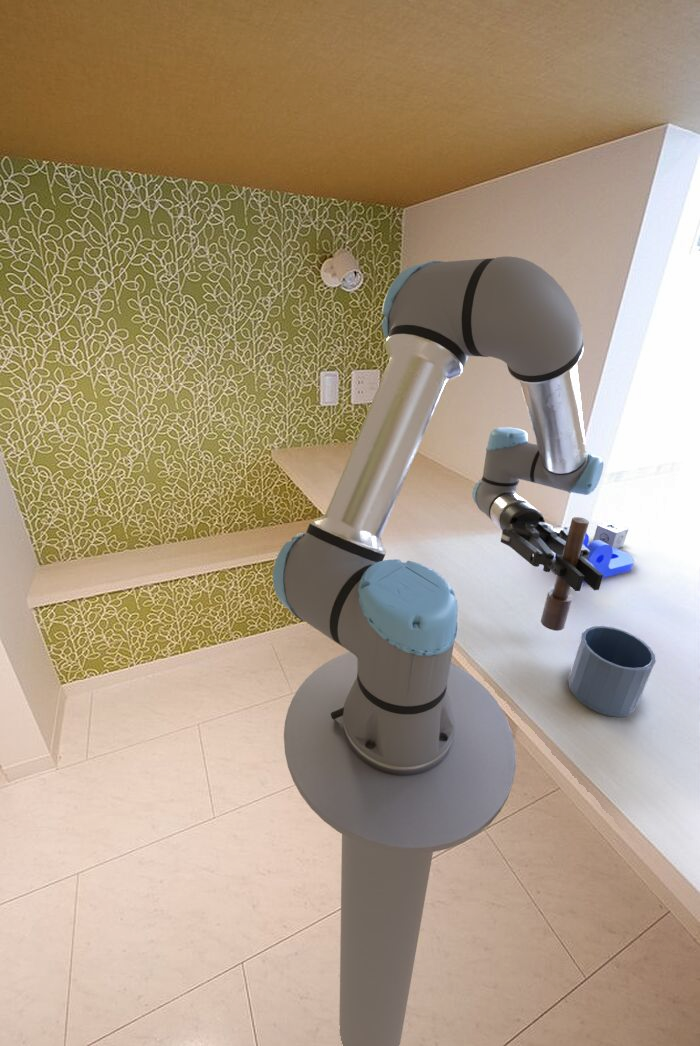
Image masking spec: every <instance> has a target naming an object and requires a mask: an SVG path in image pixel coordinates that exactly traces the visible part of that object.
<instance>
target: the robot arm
mask: <svg viewBox="0 0 700 1046" xmlns="http://www.w3.org/2000/svg"><path fill="white" fill-rule="evenodd" d="M565 291H566V290H564V289H563V287H562V286H561V285H560V283H558V281H557V280H556V279H555V277H553V276H552V275H551V274H549V273H548V272H547V271H546V270H545V269H544V268H542V267H540V266H539V265H537V264H536V263H534V262H532V261H530V260H527V259H525V258H521V257H518V256H498V257H495V258H494V257H491V258H488V257H487V258H477V259H475V258H474V259H463V260H452V261H451V260H449V261H443V260H430V261H427V262H424V263H419V264H415V265H412V266H409V267H407V268H405V269H403V270H402V271H401V272H400V273H399V274H398V275H397V276H396V277H395V278H394V279H393V281H392V283H391V284H390V286H389V288H388V289H387V292H386V295H385V297H384V300H383V304H382V309H381V314H382V315H383V316H384V318H383V319H382V320H381V328H382V332H383V335H384V338H385V341H384V349H385V352H386V354H387V356H388V358H389V361H388V363H387V365H386V368H385V370H384V372H383V374H382V377H381V380H380V382H379V384H378V387H377V389H376V390H375V391H376V392H375V394H374V396H373V398H372V401H371V404H370V406H369V408H368V411H367V413H366V415H365V418H364V420H363V423H362V425H361V427H360V430H359V433H358V435H357V437H356V440H355V442H354V445H353V446H352V449H351V451H350V453H349V456H348V459H347V461H346V464H345V466H344V469H343V471H342V473H341V475H340V478H339V480H338V483H337V485H336V488H335V490H334V492H333V495H332V497H331V500H330V502H329V505H328V507H327V509H326V512H325V513H324V514H323V515H321V516H319V517H317V518H314V519H312V520H311V521H310V522H309V524H308V526H307V529H306V532H305V531H304V532H300V533H297V534H294V535H293V536H292V537H291V540H290V541H286V542H285V543H284V545H282V547H281V548H280V551H279V552H278V554H277V556H276V559H275V562H274V565H273V570H272V585H273V589H274V592H275V594H276V597H277V599H278V601H279V602H280V604H281V605H282V606H284V607H285V609H287V610H288V611H290V613H291V614H292V615H293V616H295V617H296V618H297V619H299V620H300V621H301V622H302V621H303V622H305V623H307V624H308V625H309V626H311V627H313V628H314V629H315V630H317V631H319V632H320V633H321V634H323V635H324V636H326V637H327V638H328V639H330V640H332V641H333V642H335V643H336V644H338V645H339V646H341V647H342V648H343V649H346V650H347V652H351V653H353V654H354V655H355V656H356V657H357V659H358V665H357V677H356V680H355V682H354V684H353V686H352V688H351V690H350V692H349V694H348V696H347V698H346V701H345V704H344V707H343V708H341V709H339V710H336V711H334V712H332V713H331V717H332V719H333V720H334V719H336V718H338V717H341V716H343V731H344V735H345V738H346V741H347V743H348V745H349V746H350V748H351V749H352V751H353V752H354V753H355V754H356V756H357V757H358V758H360V759H361V760H362V761H363V762H364V763H366V764H367V765H369V766H370V767H372V768H374V769H376V770H379V771H381V772H384V773H387V774H392V775H399V776H409V775H417V774H420V773H424V772H426V771H429V770H431V769H433V768H434V767H436V766H437V765H438V764H440V763H441V762H442V761H443V760H444V759H445V757H446V756H447V755H448V753H449V751H450V749H451V746H452V743H453V738H454V731H455V721H454V714H453V711H452V707H451V702H450V699H449V696H448V692H447V682H448V676H449V670H450V664H451V662H452V658H453V651H454V646H455V641H456V637H457V633H458V600H457V598H456V595H455V591H454V589H453V588H452V586H451V585H450V584H449V582H448V580H446V579H445V578H444V577H443V576H442V575H441V574H440V573H439V572H437V571H435V570H434V569H433V568H430V567H428V566H426V565H424V564H422V563H418V562H415V561H411V560H406V562H403V561H402V560H401V559H395V558H393V559H385V557H386V555H387V550H386V548H385V546H384V544H383V542H382V535H383V534H384V532H385V531H384V530H385V529H386V526H387V524H388V521H389V519H390V516H391V515H392V513H393V510H394V507H395V505H396V502H397V500H398V497H399V495H400V493H401V490H402V488H403V486H404V483H405V481H406V478H407V476H408V474H409V471H410V469H411V466H412V465H413V461H414V459H415V458H416V454H417V452H418V449H419V448H420V445H421V443H422V440H423V437H424V436H425V433H426V431H427V428H428V426H429V424H430V421H431V419H432V416H433V414H434V412H435V409H436V407H437V405H438V402H439V400H440V397H441V394H442V392H443V390H444V387H445V385H446V383H448V382H450V381H453V380H455V379H458V378H459V377H460V376H461V374H462V373H463V370H464V368H465V366H466V363H467V361H468V359H469V358H470V357H481V358H495V359H497V360H499V361H500V360H501V361H502V362H504V363H505V364H506V366H507V370H508V372H509V374H510V376H511V377H512V378H513V379H515V380H516V381H518V382H519V384H520V387H521V388H520V389H521V391H522V395H523V399H524V402H525V406H526V409H527V413H528V416H529V420H530V424H531V428H532V430H533V435H534V438H535V442H536V443H533V442H528V441H529V435H528V432H527V431H526V430H524V429H521V428H517V427H504V426H503V427H497V428H494V429H492V430H491V432H490V433H489V436H488V437H489V438H488V442H487V446H486V449H485V451H486V452H485V456H484V457H485V458H484V466H483V470H482V471H483V472H482V477H481V479H479V480H478V481H477V482H476V484H475V485H474V486H473V487H472V488H473V489H472V492H471V496H472V499H473V502H474V503H475V505H476V506H477V508H478V509H479V510H480V511H481V512H482V513H484V514H485V516H487V517H488V518H489V519H490V520H491V521H492V522H493V523H494V524H495V525H496V526H497V527H498V528H499V529H500V530H501V537H500V543H502V544H503V545H505V546H508V547H510V548H511V549H512V550H513V551H515V552H516V553H517V554H518V555H519V556H520V557H522V559H524V560H525V561H526V562H528V563H529V564H530V565H531V566H532V567H536V568H539V567H540V565H542V566H543V567H542V571H543V572H544V573H550V572H552V573H553V574H554V575H555V576H556V577H557V576H560V577H561V578H562V579H563V580H564V581H565V582H566V583H567V584H568V585H569V586H571V589H572V590H574V591H575V592H581V589H582V586H583V584H584V583H583V581H584V582H586V583H585V584H587V585H588V586H589V587H590V588H591V589H592V590H593V591H599V590H600V588H601V585H602V581H603V579H604V578H603V574H602V573H600V572H599V571H598V570H597V569H596V568H594V566H593V565H592V564H591V563H590V562H589V561H587V560H588V556H589V553H590V550H588V549H587V548H586V547H585V546H584V545H583V546H582V549H581V553H580V556H579V560H578V563H577V567H576V568H575V567H574V566H573V565H571V564H570V563H569V562H568V561H567V560H566V559H565V558H563V557H562V555H563V551H564V548H565V544H566V540H567V536H568V532H569V529H570V527H568V526H562V528H560V529H558V528H557V529H556V528H554V526H553V525H552V524H549V523H547V522H546V521H545V518H544V516H543V514H542V513H541V511H540V510H538V509H537V508H535V506H533V505H531V503H530V502H528V501H527V500H526V499H524V498H523V497H522V496H520V495H519V494H518V493H517V490H518V486H519V483H520V480H521V481H526V482H530V483H533V484H538V485H541V486H545V487H549V488H553V489H557V490H560V491H564V492H567V493H569V494H571V493H574V494H578V495H583V496H588V495H591V494H592V493H593V492H594V491H595V490H596V488H597V486H598V485H599V482H600V480H601V478H602V476H603V475H602V474H603V471H604V460H603V458H601V457H600V456H598V455H593V454H592V453H587V447H586V437H585V429H584V420H583V411H582V410H583V409H582V399H581V391H580V381H579V372H578V363H579V362H580V360H581V358H582V356H583V353H584V339H583V337H584V336H583V329H582V325H581V321H580V318H579V315H578V313H577V309H576V308H575V306H574V304H573V302H572V301H571V298H570V297H569V296H568V294H567V293H566V292H565ZM556 554H557V555H556ZM555 555H556V557H555Z"/></svg>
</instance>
